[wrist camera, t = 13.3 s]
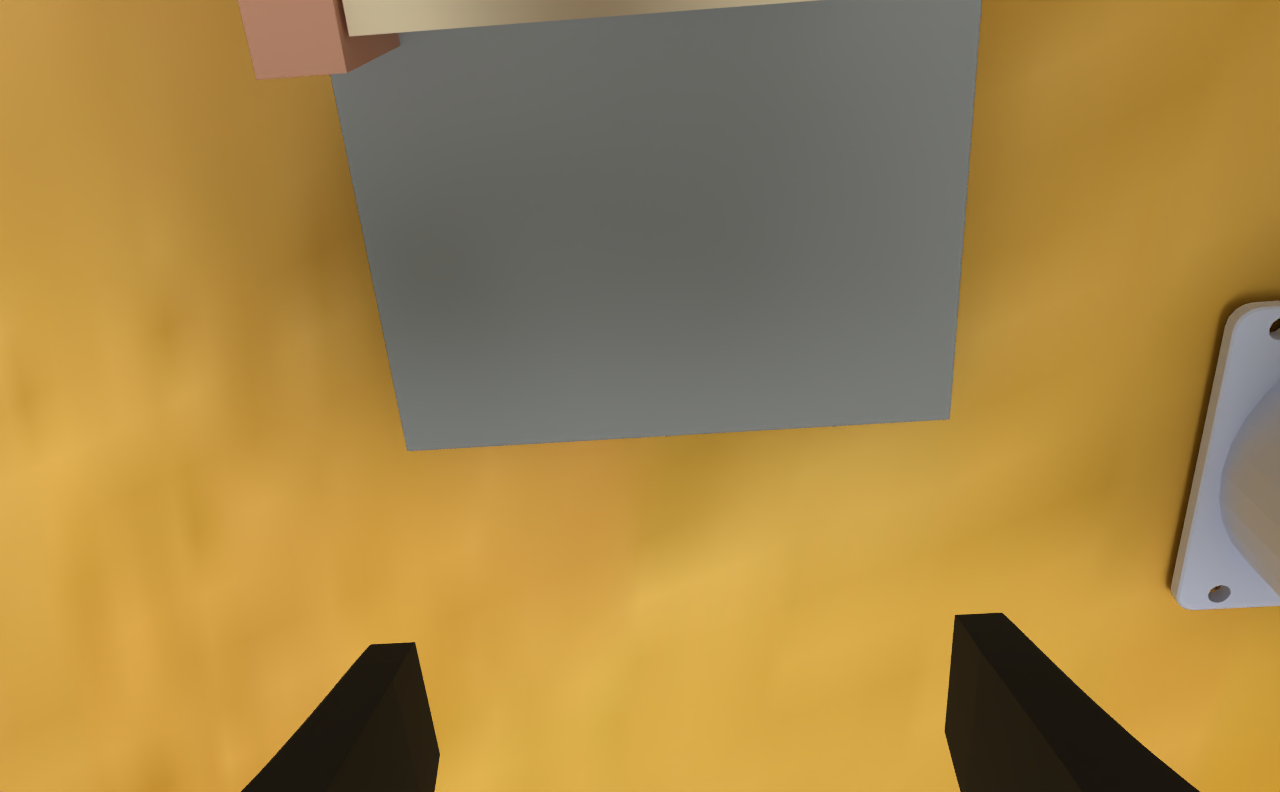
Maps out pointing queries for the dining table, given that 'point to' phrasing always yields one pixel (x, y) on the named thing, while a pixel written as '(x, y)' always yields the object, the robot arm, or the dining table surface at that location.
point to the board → (655, 213)
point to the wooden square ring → (505, 12)
